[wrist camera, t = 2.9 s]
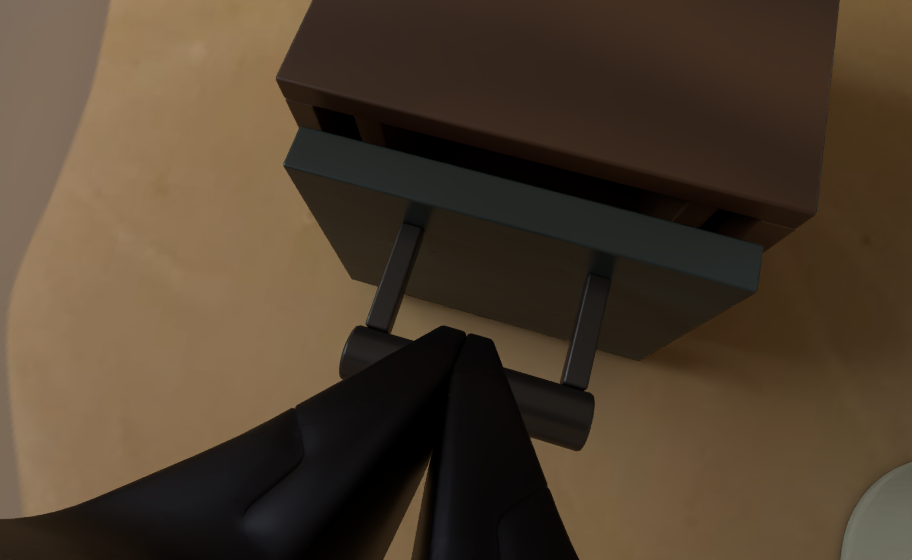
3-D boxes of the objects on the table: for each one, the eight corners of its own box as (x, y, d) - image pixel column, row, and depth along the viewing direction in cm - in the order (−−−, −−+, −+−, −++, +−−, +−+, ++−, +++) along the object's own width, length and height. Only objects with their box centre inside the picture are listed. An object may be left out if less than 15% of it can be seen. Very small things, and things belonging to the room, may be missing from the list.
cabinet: (655, 328, 22) (818, 215, 12) (355, 245, 23) (273, 78, 13) (711, 38, 26) (865, -225, 16) (455, -19, 28) (451, -296, 18)
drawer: (616, 479, 19) (731, 491, 11) (311, 385, 21) (206, 331, 12) (697, 70, 25) (816, -131, 16) (450, 13, 26) (444, -201, 18)
